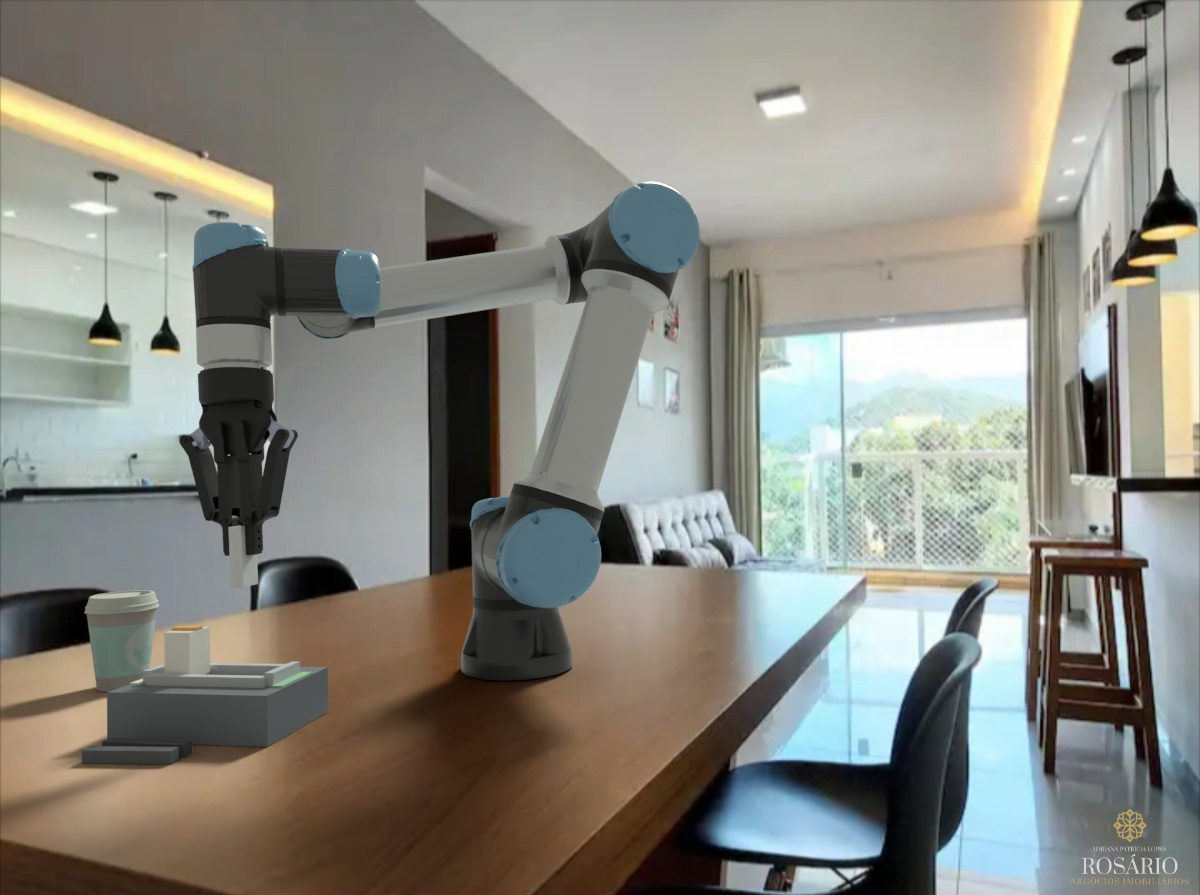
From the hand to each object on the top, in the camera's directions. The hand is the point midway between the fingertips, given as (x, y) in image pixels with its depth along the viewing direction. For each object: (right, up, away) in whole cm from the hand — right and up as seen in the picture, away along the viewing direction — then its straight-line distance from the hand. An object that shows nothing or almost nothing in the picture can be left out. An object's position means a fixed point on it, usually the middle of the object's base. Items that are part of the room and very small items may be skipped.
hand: (244, 585), depth 89 cm
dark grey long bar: (-6, -15, -9) cm, 18 cm away
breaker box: (-2, -15, 0) cm, 15 cm away
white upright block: (-6, -10, +1) cm, 12 cm away
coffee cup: (-24, -17, +18) cm, 34 cm away
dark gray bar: (-6, -15, -11) cm, 19 cm away
